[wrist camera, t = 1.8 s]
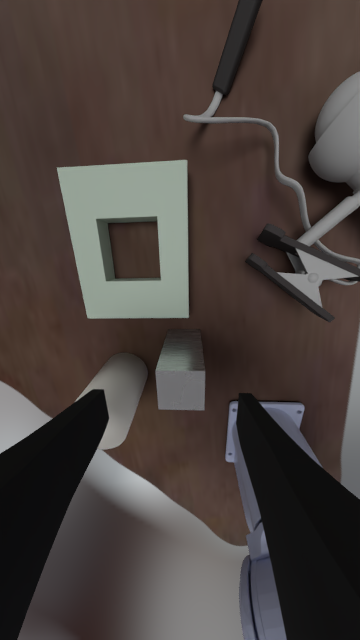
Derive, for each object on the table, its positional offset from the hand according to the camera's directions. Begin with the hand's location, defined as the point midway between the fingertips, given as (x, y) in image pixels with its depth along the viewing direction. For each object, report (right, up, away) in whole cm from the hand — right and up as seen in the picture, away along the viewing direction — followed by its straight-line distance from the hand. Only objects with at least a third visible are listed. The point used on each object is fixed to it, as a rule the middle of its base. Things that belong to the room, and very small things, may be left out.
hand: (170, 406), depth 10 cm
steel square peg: (+1, +2, +9) cm, 9 cm away
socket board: (-3, +11, +6) cm, 13 cm away
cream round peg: (-5, -1, +11) cm, 12 cm away
